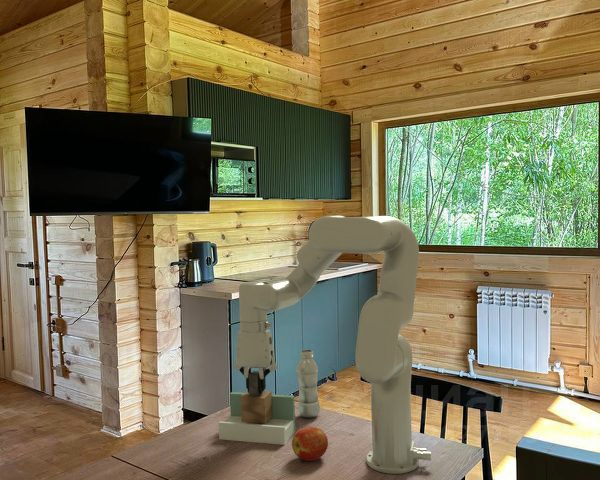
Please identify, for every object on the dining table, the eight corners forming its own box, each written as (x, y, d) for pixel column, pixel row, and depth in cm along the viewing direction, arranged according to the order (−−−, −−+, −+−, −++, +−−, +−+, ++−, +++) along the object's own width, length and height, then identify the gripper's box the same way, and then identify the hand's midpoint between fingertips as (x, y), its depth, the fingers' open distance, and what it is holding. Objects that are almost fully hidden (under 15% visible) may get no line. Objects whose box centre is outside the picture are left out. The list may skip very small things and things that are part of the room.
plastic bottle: (318, 420, 161) (316, 353, 160) (296, 419, 163) (293, 353, 162) (321, 412, 168) (319, 348, 167) (300, 411, 169) (298, 348, 168)
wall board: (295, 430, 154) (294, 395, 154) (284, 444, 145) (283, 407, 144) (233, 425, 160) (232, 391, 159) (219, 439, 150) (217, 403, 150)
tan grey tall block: (272, 415, 154) (270, 370, 153) (265, 423, 148) (263, 376, 148) (249, 414, 156) (247, 369, 155) (241, 421, 150) (239, 375, 150)
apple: (288, 456, 138) (287, 425, 137) (317, 449, 141) (316, 419, 141) (303, 469, 130) (302, 436, 130) (333, 461, 134) (332, 429, 134)
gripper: (285, 324, 152) (287, 389, 153) (232, 322, 157) (234, 385, 158) (277, 329, 145) (279, 397, 146) (221, 328, 149) (224, 394, 150)
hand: (256, 390), depth 152 cm, fingers closed on tan grey tall block, 2 cm apart
